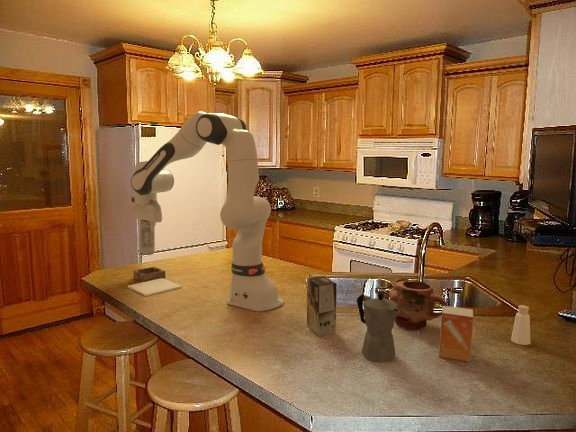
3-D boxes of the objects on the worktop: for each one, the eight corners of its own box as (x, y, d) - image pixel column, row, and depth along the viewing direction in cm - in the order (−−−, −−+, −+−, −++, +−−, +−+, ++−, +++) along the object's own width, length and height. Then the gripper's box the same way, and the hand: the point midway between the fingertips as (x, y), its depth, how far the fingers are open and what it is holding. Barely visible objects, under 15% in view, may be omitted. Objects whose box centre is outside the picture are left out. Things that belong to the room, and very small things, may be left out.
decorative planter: (452, 327, 141) (455, 286, 139) (440, 340, 131) (442, 296, 129) (394, 313, 153) (396, 275, 151) (379, 324, 143) (380, 283, 141)
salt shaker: (507, 337, 134) (510, 303, 132) (525, 337, 134) (528, 303, 132) (515, 345, 128) (518, 309, 127) (534, 345, 128) (537, 309, 127)
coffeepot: (408, 359, 119) (411, 296, 116) (384, 369, 114) (387, 303, 111) (367, 339, 132) (369, 282, 129) (344, 347, 126) (345, 287, 124)
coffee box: (336, 333, 136) (337, 283, 134) (318, 336, 134) (319, 285, 132) (323, 322, 145) (323, 275, 143) (305, 325, 142) (306, 277, 140)
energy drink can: (155, 251, 197) (155, 219, 194) (153, 255, 191) (153, 222, 188) (141, 251, 195) (141, 219, 192) (139, 255, 190) (139, 222, 187)
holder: (165, 278, 194) (165, 270, 193) (144, 283, 187) (144, 275, 186) (154, 273, 201) (154, 266, 200) (133, 278, 194) (133, 270, 194)
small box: (438, 357, 120) (441, 312, 119) (439, 348, 126) (442, 305, 124) (470, 362, 118) (473, 316, 116) (470, 352, 123) (473, 308, 121)
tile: (182, 287, 181) (182, 286, 181) (146, 296, 170) (145, 294, 169) (162, 279, 192) (162, 278, 192) (127, 287, 181) (127, 285, 181)
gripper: (165, 200, 184) (166, 232, 186) (142, 197, 198) (143, 227, 200) (151, 201, 179) (152, 234, 181) (128, 198, 194) (130, 228, 196)
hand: (147, 230), depth 191 cm, fingers closed on energy drink can, 6 cm apart
